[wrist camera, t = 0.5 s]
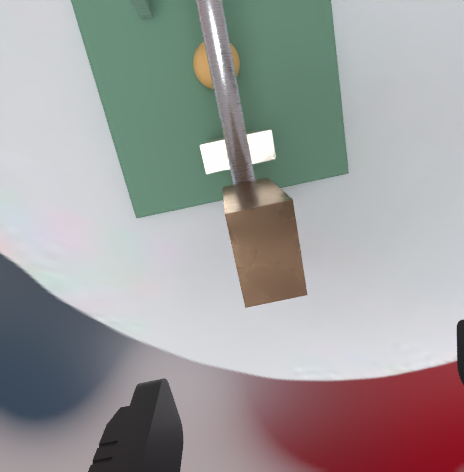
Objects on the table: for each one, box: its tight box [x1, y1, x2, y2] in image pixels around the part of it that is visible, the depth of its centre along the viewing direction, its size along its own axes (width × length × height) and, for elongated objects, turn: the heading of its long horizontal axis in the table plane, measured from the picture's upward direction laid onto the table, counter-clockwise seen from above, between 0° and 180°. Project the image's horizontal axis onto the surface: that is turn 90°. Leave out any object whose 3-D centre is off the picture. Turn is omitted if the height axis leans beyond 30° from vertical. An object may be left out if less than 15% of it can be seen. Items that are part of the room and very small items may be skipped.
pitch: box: [71, 0, 348, 218], centre depth 32 cm, size 22×24×1 cm
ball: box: [193, 41, 240, 89], centre depth 29 cm, size 4×4×4 cm
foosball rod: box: [195, 0, 307, 308], centre depth 21 cm, size 5×31×18 cm, turn 12°
